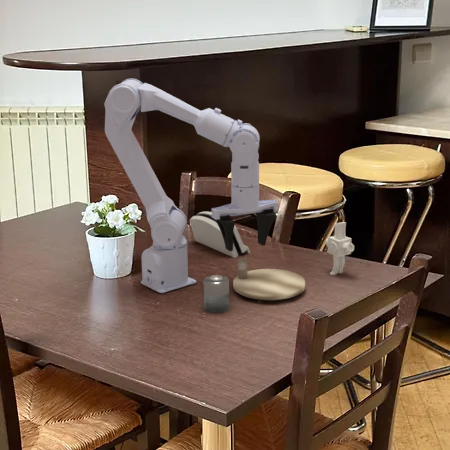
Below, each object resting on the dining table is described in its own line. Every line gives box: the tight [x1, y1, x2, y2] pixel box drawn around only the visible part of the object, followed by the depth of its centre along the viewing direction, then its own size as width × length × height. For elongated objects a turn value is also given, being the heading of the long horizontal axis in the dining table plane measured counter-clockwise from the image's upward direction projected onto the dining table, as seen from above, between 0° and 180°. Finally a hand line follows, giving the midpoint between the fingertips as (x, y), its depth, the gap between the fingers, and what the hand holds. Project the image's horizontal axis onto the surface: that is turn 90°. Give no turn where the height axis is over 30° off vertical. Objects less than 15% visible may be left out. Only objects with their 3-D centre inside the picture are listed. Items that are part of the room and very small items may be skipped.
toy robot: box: [325, 221, 355, 276], centre depth 169 cm, size 4×8×12 cm, turn 34°
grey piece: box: [189, 211, 251, 259], centre depth 188 cm, size 17×5×10 cm, turn 36°
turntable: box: [232, 257, 306, 300], centre depth 161 cm, size 15×15×5 cm
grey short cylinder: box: [202, 274, 230, 314], centre depth 153 cm, size 5×5×7 cm
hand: (245, 247), depth 163 cm, fingers open, 7 cm apart
